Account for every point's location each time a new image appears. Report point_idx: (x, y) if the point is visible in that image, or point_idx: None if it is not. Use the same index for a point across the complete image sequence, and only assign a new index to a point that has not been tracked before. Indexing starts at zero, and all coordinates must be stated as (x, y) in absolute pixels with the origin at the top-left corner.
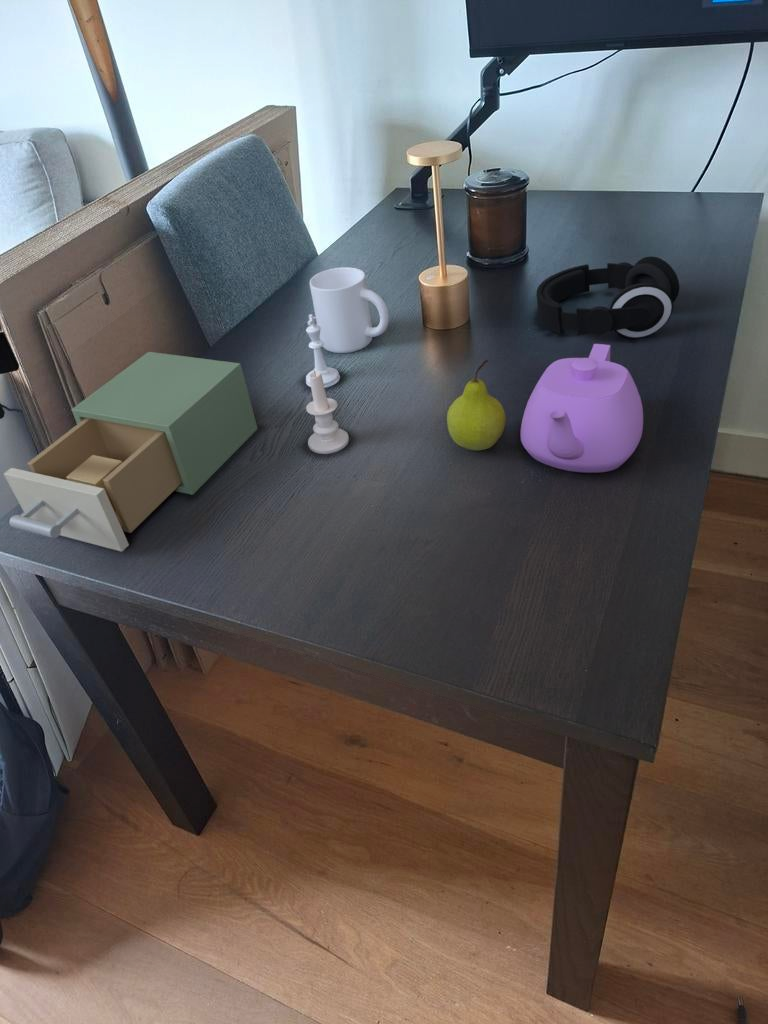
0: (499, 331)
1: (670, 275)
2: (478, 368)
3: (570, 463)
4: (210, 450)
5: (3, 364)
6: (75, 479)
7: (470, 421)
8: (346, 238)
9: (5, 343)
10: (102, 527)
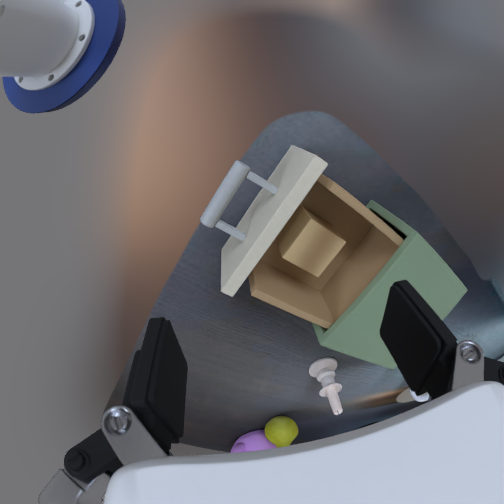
0: (378, 413)
1: None
2: None
3: (237, 442)
4: None
5: (391, 330)
6: (301, 231)
7: (270, 436)
8: None
9: (405, 379)
10: (227, 254)
